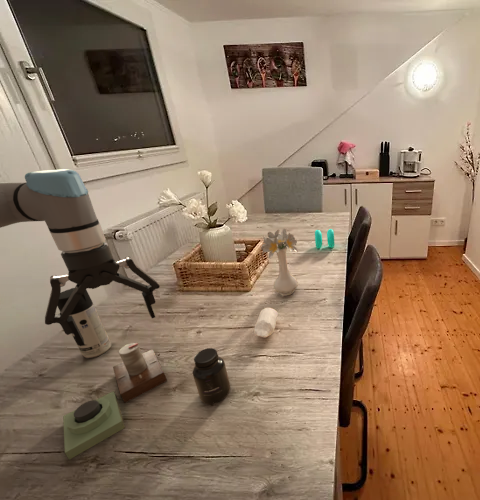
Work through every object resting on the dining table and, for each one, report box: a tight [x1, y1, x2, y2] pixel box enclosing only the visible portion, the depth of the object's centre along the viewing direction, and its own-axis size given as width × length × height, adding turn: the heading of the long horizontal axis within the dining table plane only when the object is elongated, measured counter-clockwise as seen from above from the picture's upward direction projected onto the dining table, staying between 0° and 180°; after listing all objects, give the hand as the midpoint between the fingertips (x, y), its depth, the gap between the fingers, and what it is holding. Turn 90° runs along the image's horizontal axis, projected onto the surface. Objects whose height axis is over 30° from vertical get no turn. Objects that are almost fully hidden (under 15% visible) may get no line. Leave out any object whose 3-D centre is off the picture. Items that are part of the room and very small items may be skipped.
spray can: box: [57, 287, 112, 359], centre depth 79 cm, size 7×7×20 cm
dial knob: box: [118, 342, 147, 375], centre depth 71 cm, size 4×4×7 cm
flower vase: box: [260, 228, 299, 297], centre depth 106 cm, size 13×18×25 cm
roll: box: [253, 307, 279, 338], centre depth 87 cm, size 6×12×6 cm, turn 5°
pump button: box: [74, 399, 101, 423], centre depth 60 cm, size 4×4×2 cm
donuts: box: [314, 228, 335, 249], centre depth 150 cm, size 10×10×10 cm
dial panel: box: [112, 348, 168, 404], centre depth 73 cm, size 12×9×3 cm
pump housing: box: [62, 390, 126, 460], centre depth 61 cm, size 11×9×4 cm
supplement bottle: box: [192, 347, 231, 405], centre depth 66 cm, size 7×7×12 cm
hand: (119, 328), depth 67 cm, fingers open, 13 cm apart
